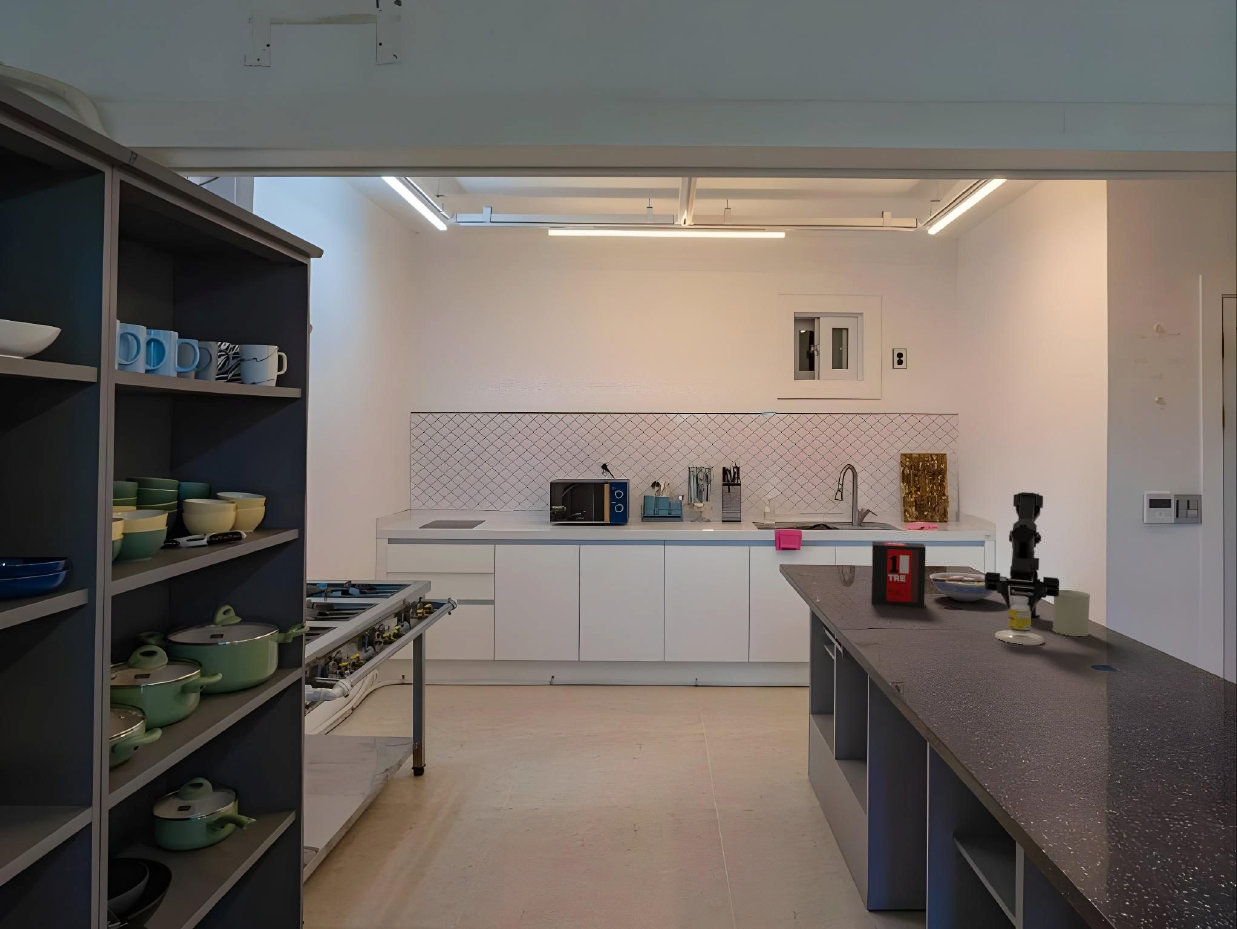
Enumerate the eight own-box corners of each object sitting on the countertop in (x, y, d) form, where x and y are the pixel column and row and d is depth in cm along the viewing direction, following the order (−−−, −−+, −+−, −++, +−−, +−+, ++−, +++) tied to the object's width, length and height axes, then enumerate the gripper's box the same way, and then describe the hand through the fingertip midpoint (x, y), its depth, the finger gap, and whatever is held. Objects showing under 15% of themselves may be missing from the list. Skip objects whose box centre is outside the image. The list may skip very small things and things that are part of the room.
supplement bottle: (1007, 628, 221) (1008, 594, 221) (1028, 630, 219) (1029, 595, 219) (1010, 633, 216) (1011, 598, 215) (1032, 634, 214) (1033, 599, 214)
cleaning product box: (922, 601, 266) (923, 543, 265) (924, 607, 257) (925, 547, 256) (871, 598, 270) (872, 541, 270) (871, 603, 262) (872, 544, 261)
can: (1079, 629, 230) (1080, 588, 229) (1095, 637, 221) (1096, 595, 220) (1046, 628, 231) (1047, 587, 230) (1061, 636, 222) (1062, 594, 221)
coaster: (986, 634, 223) (986, 630, 223) (1025, 633, 224) (1025, 630, 224) (1012, 645, 211) (1012, 642, 211) (1053, 644, 212) (1053, 641, 212)
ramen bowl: (989, 593, 280) (990, 571, 280) (1015, 608, 257) (1016, 583, 257) (917, 591, 282) (918, 569, 282) (937, 605, 260) (937, 581, 259)
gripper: (985, 544, 225) (981, 589, 216) (1060, 549, 215) (1058, 596, 206) (987, 566, 232) (983, 611, 223) (1059, 572, 222) (1058, 619, 213)
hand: (1019, 609), depth 216 cm, fingers closed on supplement bottle, 5 cm apart
